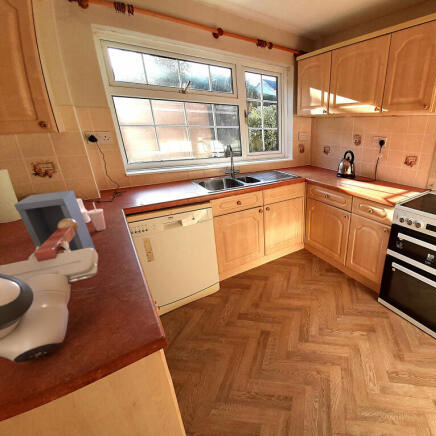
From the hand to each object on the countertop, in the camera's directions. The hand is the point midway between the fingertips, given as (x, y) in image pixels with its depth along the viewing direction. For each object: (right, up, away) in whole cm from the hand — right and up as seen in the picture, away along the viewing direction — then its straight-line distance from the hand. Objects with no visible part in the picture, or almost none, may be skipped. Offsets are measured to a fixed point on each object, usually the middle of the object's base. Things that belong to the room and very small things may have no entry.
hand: (53, 245), depth 68 cm
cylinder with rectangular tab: (-47, +5, +63) cm, 78 cm away
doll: (-2, 0, +5) cm, 6 cm away
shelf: (-16, -9, +25) cm, 31 cm away
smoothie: (-28, +2, +53) cm, 60 cm away
